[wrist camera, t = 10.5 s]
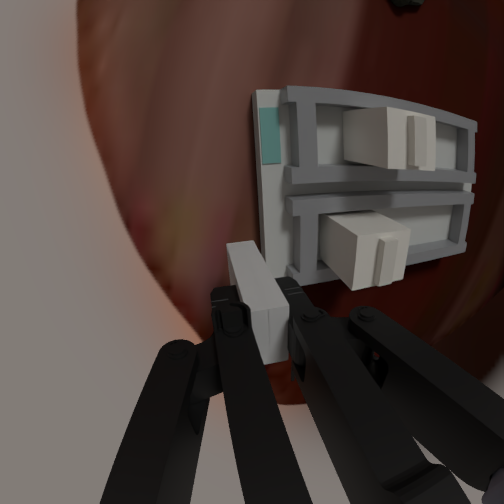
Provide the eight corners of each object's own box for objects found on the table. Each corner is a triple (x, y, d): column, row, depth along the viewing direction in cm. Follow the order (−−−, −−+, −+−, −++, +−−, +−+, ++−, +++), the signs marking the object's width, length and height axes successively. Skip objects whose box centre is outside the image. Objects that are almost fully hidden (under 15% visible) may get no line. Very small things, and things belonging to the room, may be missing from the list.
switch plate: (462, 122, 19) (484, 124, 17) (453, 239, 25) (472, 249, 22) (251, 93, 16) (261, 85, 13) (262, 271, 21) (271, 290, 19)
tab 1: (387, 116, 17) (442, 117, 12) (388, 160, 18) (441, 172, 13) (342, 111, 16) (393, 105, 11) (343, 159, 17) (394, 170, 12)
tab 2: (368, 207, 19) (417, 232, 14) (364, 250, 20) (408, 283, 15) (320, 211, 19) (363, 239, 14) (319, 257, 20) (356, 295, 15)
